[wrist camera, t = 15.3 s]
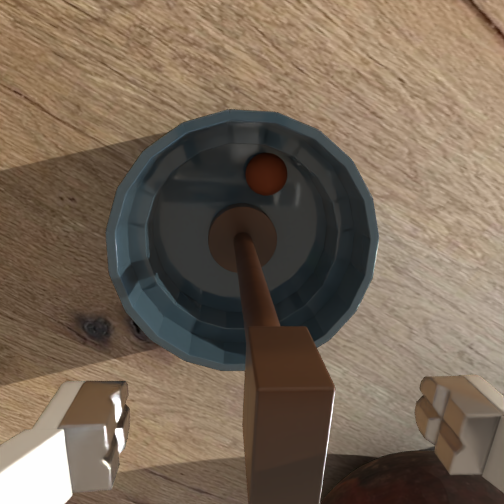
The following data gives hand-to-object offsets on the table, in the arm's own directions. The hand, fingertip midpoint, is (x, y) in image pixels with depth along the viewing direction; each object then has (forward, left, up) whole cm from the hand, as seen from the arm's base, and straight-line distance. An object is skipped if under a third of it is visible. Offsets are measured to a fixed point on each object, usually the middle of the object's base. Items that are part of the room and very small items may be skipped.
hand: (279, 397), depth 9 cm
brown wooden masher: (0, 0, -19) cm, 19 cm away
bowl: (0, 0, -20) cm, 20 cm away
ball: (-5, +2, -17) cm, 18 cm away
